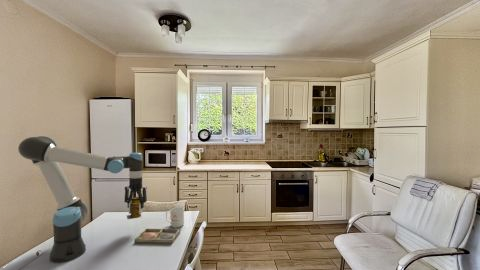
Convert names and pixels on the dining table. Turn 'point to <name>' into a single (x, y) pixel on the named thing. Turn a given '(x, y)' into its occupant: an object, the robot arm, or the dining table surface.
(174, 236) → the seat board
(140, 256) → the dining table surface
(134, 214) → the condiment
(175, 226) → the mug
